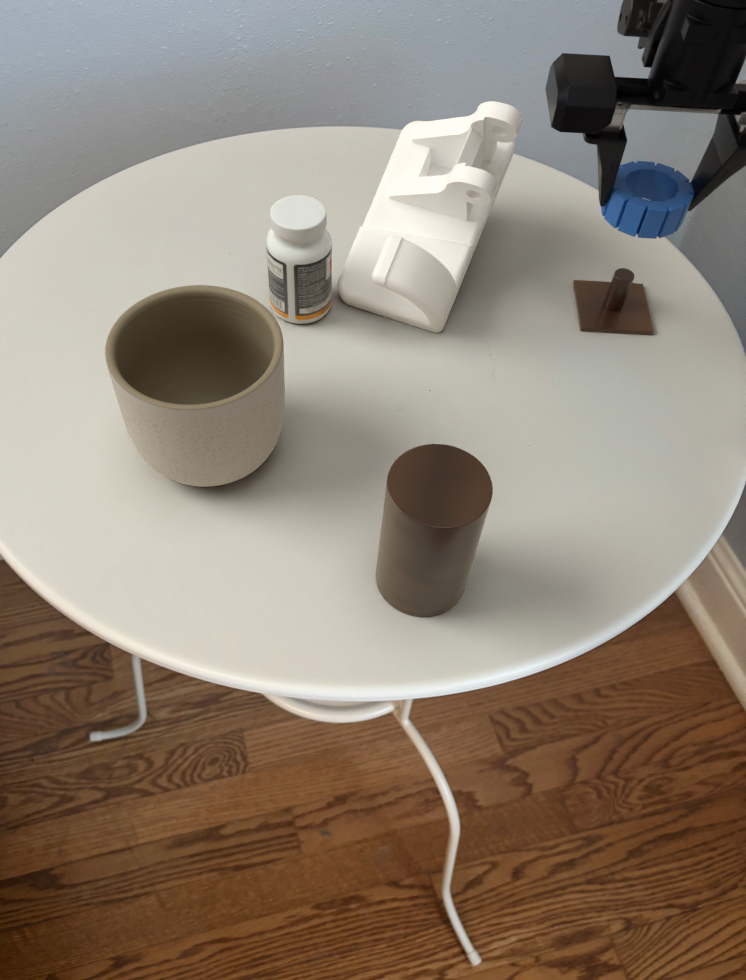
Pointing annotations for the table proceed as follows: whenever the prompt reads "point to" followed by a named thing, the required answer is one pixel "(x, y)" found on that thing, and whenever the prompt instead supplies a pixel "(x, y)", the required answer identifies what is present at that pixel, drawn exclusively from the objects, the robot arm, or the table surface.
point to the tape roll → (654, 184)
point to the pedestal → (431, 527)
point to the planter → (199, 382)
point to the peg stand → (613, 305)
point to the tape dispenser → (429, 216)
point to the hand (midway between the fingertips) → (644, 205)
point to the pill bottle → (299, 259)
